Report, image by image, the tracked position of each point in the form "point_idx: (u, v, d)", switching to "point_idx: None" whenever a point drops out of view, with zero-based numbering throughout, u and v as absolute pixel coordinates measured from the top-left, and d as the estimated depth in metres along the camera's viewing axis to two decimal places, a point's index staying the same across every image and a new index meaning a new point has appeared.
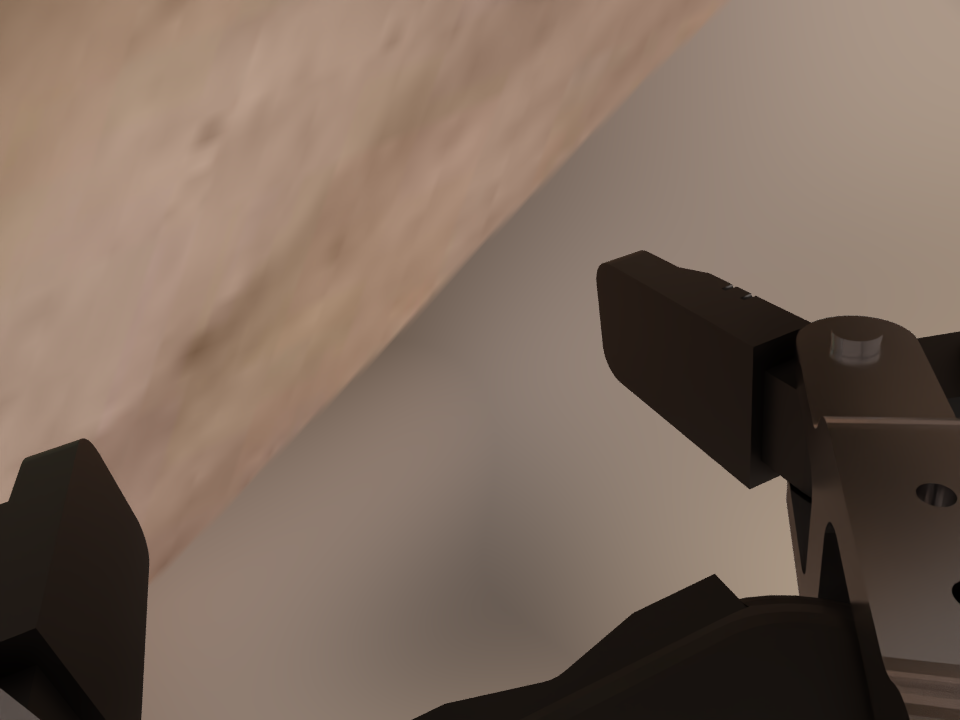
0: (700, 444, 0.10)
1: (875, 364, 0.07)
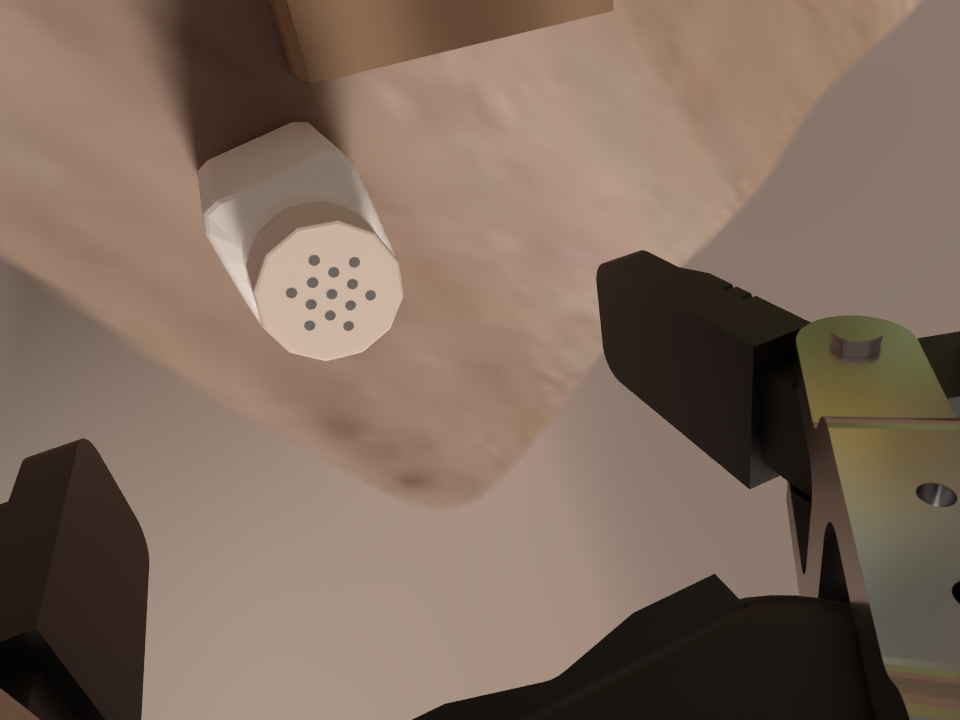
0: (700, 444, 0.10)
1: (875, 364, 0.07)
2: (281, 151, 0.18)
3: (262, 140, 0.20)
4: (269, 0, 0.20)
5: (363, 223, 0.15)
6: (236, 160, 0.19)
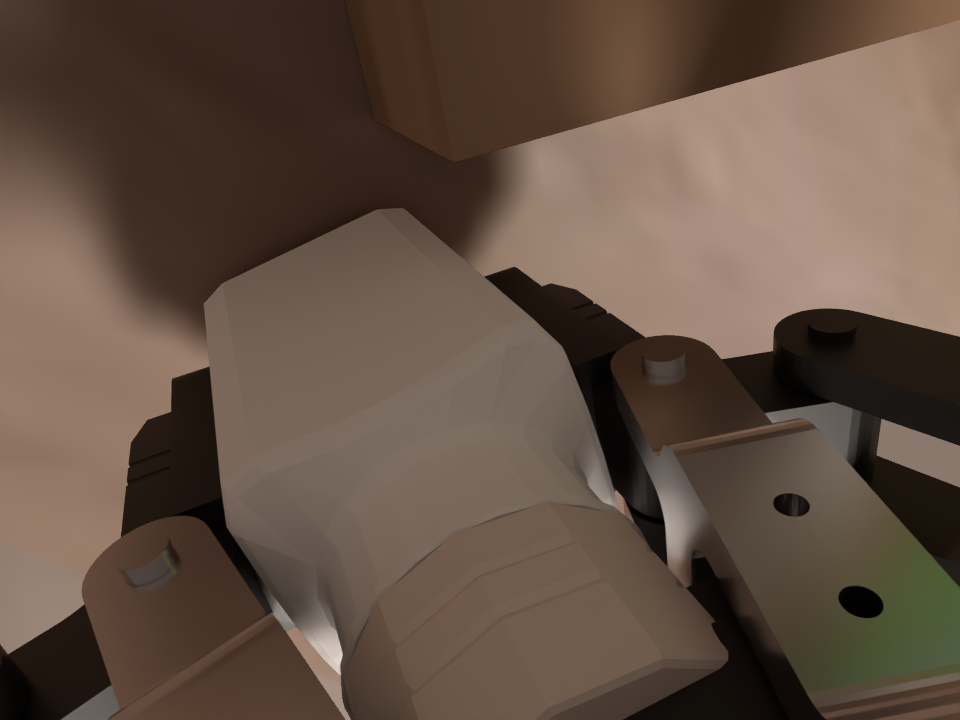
0: None
1: (671, 384, 0.08)
2: (385, 301, 0.09)
3: (327, 250, 0.11)
4: None
5: (683, 596, 0.05)
6: (283, 302, 0.10)
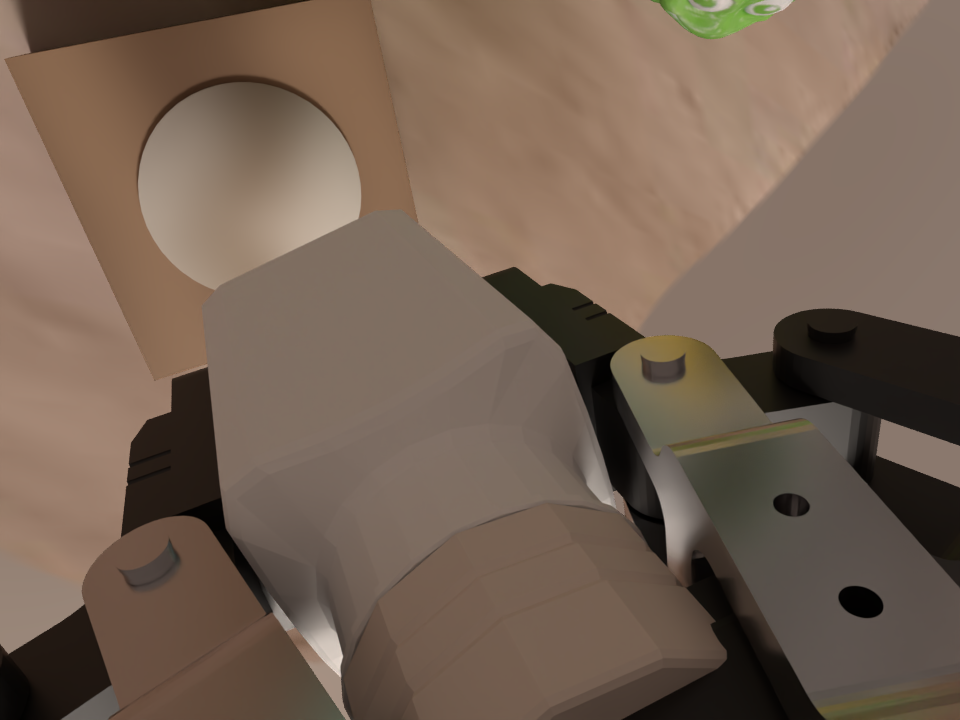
0: None
1: (671, 384, 0.08)
2: (383, 303, 0.09)
3: (325, 252, 0.11)
4: None
5: (683, 595, 0.05)
6: (281, 304, 0.10)
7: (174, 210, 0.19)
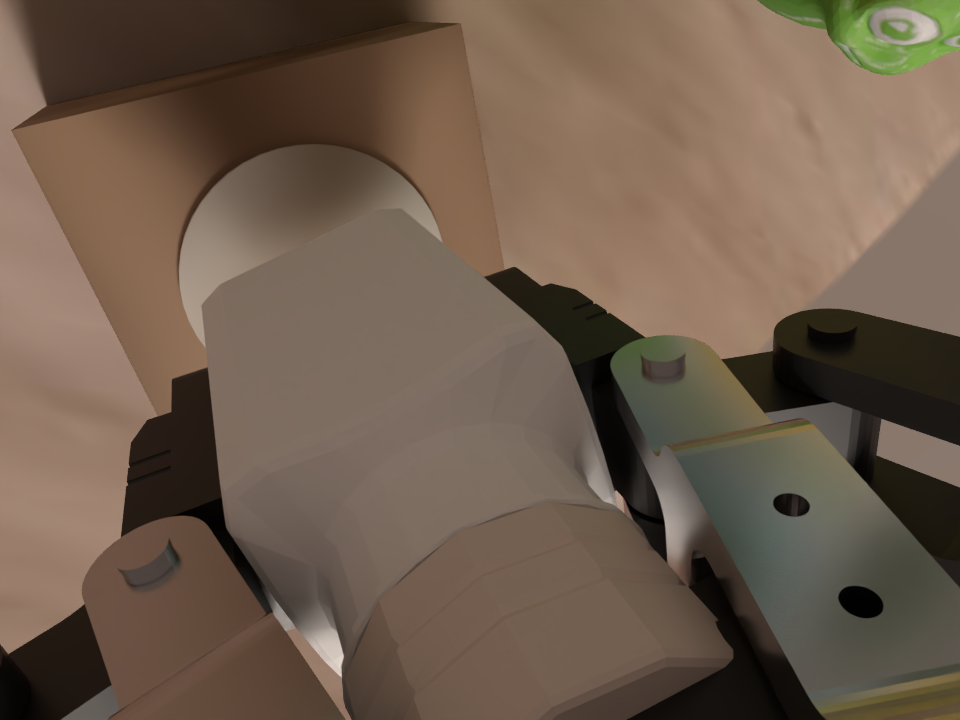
0: None
1: (671, 384, 0.08)
2: (384, 301, 0.09)
3: (325, 251, 0.11)
4: None
5: (685, 595, 0.05)
6: (281, 303, 0.10)
7: None
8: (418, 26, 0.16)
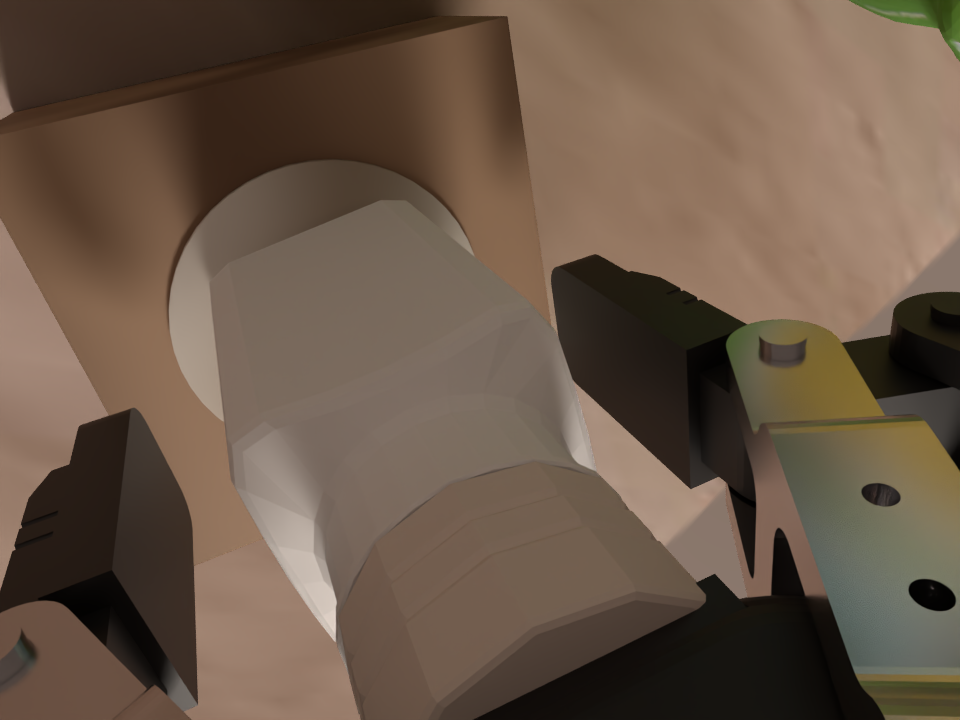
0: (647, 445, 0.10)
1: (797, 367, 0.07)
2: (387, 281, 0.09)
3: (331, 235, 0.11)
4: None
5: (656, 547, 0.06)
6: (288, 281, 0.10)
7: None
8: (452, 20, 0.14)
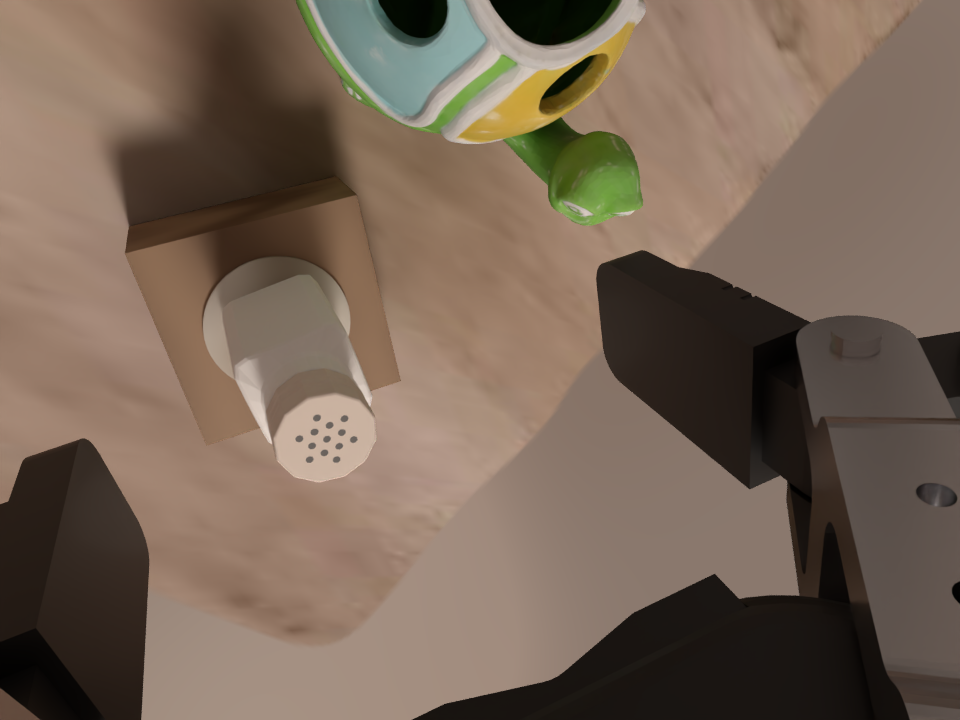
0: (700, 444, 0.10)
1: (875, 364, 0.07)
2: (292, 312, 0.25)
3: (274, 291, 0.27)
4: None
5: (352, 389, 0.22)
6: (255, 311, 0.26)
7: (225, 337, 0.28)
8: (337, 187, 0.30)
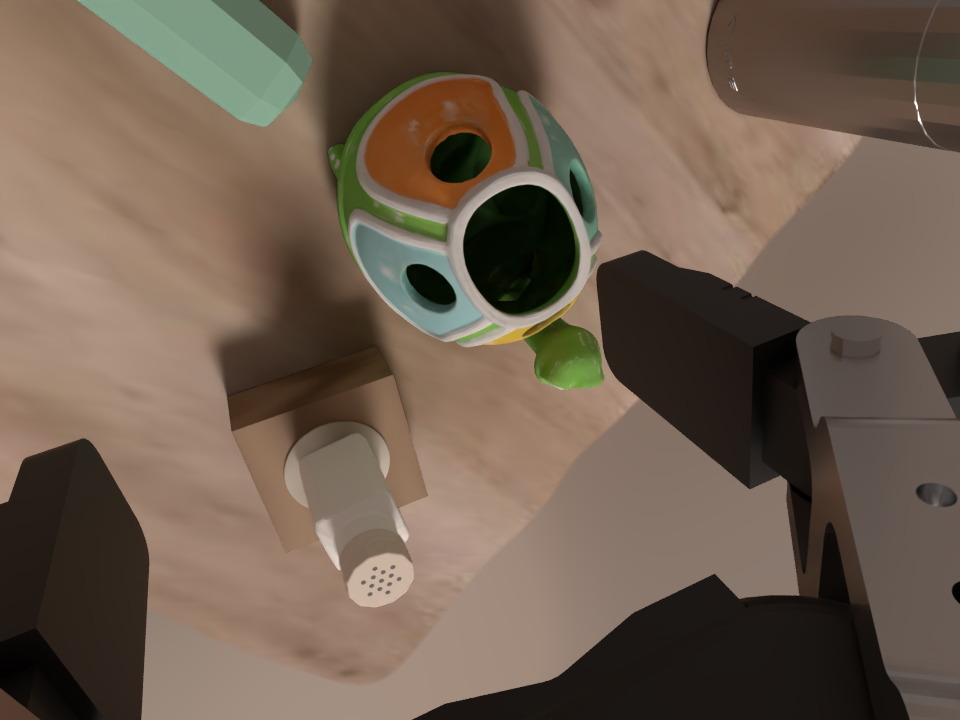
0: (700, 444, 0.10)
1: (875, 364, 0.07)
2: (351, 476, 0.35)
3: (336, 451, 0.37)
4: None
5: (397, 545, 0.32)
6: (324, 471, 0.36)
7: (300, 479, 0.39)
8: (378, 362, 0.40)
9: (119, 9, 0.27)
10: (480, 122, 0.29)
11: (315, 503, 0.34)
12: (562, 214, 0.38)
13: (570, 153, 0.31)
